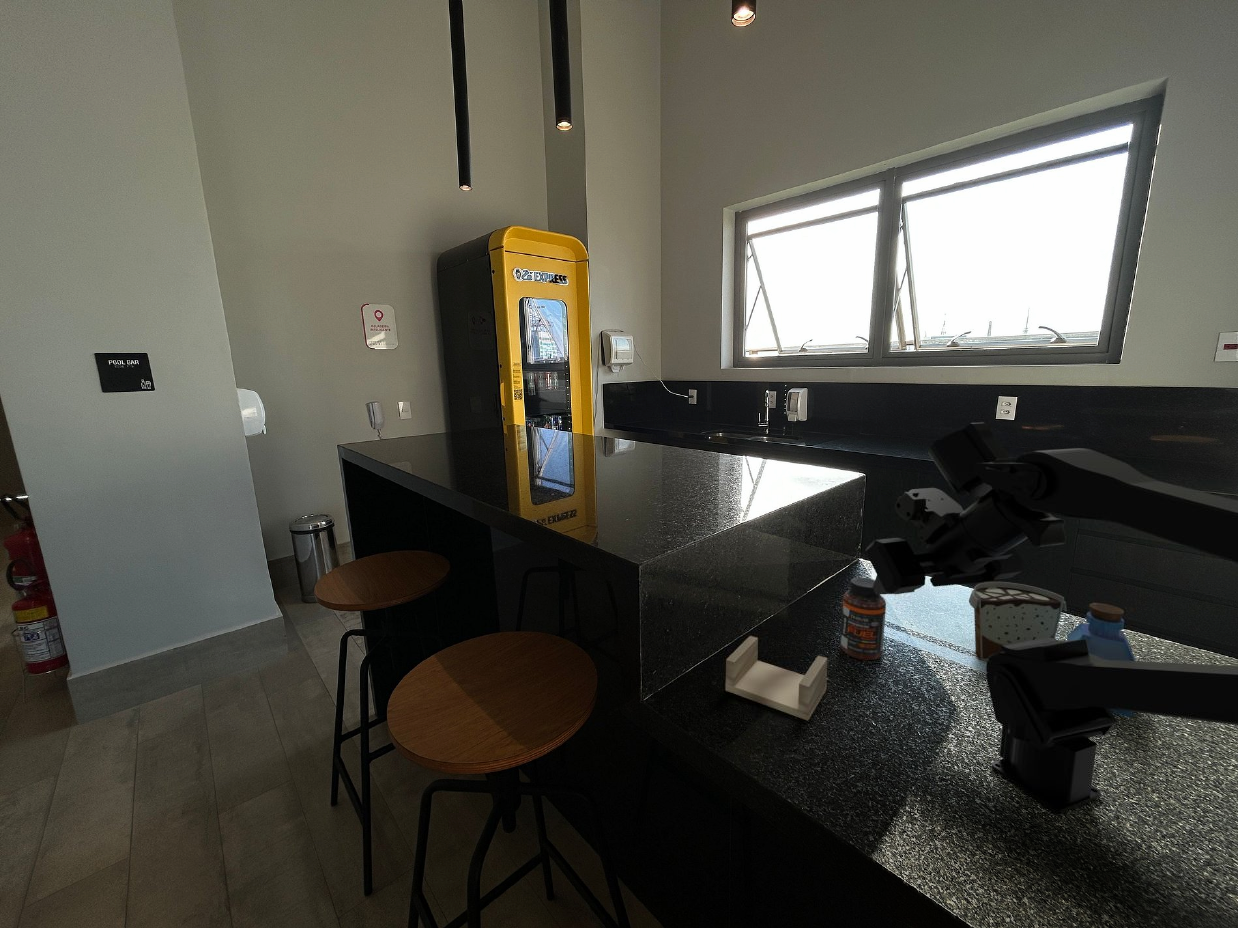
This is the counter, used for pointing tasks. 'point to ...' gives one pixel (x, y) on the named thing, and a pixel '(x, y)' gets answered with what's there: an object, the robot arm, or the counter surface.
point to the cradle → (775, 681)
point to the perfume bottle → (1105, 635)
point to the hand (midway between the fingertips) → (904, 586)
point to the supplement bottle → (862, 620)
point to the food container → (1012, 615)
